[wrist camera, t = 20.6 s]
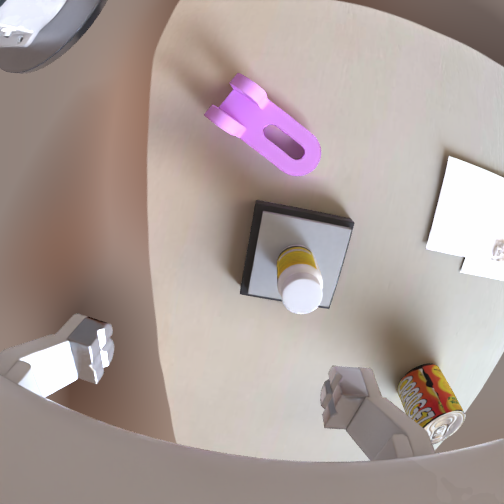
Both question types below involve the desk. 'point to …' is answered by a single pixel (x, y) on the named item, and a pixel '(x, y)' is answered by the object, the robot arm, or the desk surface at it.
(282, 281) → the supplement bottle
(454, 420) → the beverage can
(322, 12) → the desk surface
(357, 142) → the desk surface
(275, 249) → the scale
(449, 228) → the paper
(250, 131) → the bracket
